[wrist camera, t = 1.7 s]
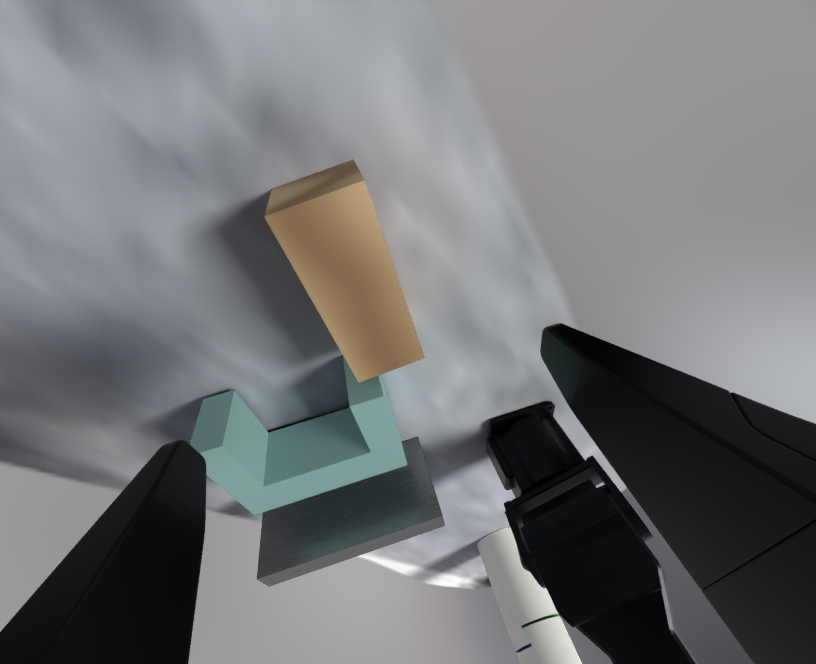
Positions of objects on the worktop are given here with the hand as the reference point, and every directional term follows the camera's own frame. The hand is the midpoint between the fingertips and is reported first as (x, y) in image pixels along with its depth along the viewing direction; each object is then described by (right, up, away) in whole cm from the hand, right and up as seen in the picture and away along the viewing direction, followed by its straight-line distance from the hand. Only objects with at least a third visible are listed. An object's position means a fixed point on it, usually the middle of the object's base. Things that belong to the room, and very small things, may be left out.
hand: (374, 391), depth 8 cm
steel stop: (-5, -11, +22) cm, 25 cm away
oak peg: (-2, +5, +11) cm, 12 cm away
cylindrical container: (+15, -31, +45) cm, 56 cm away
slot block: (-6, -4, +16) cm, 18 cm away
